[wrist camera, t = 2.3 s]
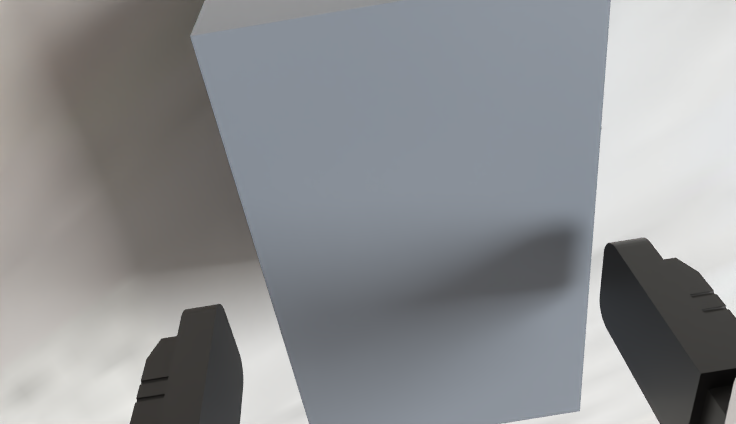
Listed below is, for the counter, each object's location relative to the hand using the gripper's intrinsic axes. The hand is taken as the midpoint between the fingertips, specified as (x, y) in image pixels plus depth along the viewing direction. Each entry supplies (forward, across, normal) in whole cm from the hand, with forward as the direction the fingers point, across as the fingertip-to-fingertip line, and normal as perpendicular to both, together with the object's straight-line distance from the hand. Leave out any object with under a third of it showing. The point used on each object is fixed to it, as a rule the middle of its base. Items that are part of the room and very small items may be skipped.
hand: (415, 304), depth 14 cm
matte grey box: (+10, -1, 0) cm, 10 cm away
